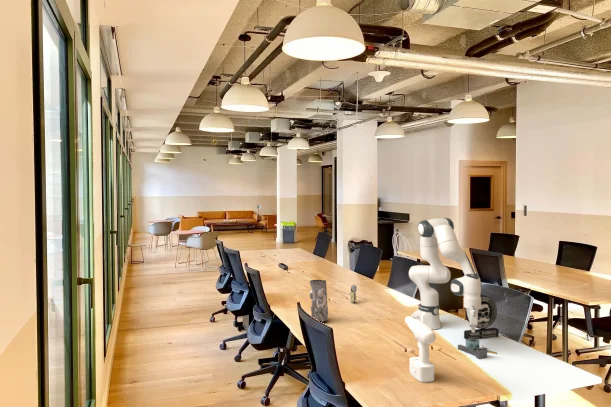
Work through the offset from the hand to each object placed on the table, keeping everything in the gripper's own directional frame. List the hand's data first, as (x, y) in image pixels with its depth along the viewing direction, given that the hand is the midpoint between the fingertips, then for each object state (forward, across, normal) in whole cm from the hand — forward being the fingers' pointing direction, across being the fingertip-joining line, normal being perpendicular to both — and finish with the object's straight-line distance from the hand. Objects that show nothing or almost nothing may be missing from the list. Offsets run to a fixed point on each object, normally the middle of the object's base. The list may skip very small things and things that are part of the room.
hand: (472, 329), depth 247 cm
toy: (+9, +88, +81) cm, 120 cm away
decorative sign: (+10, +21, -7) cm, 24 cm away
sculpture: (+10, +31, +94) cm, 99 cm away
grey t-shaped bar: (+11, -8, +1) cm, 13 cm away
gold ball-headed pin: (+11, -4, -9) cm, 15 cm away
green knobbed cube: (+10, +1, 0) cm, 11 cm away
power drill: (+12, -43, +28) cm, 52 cm away
